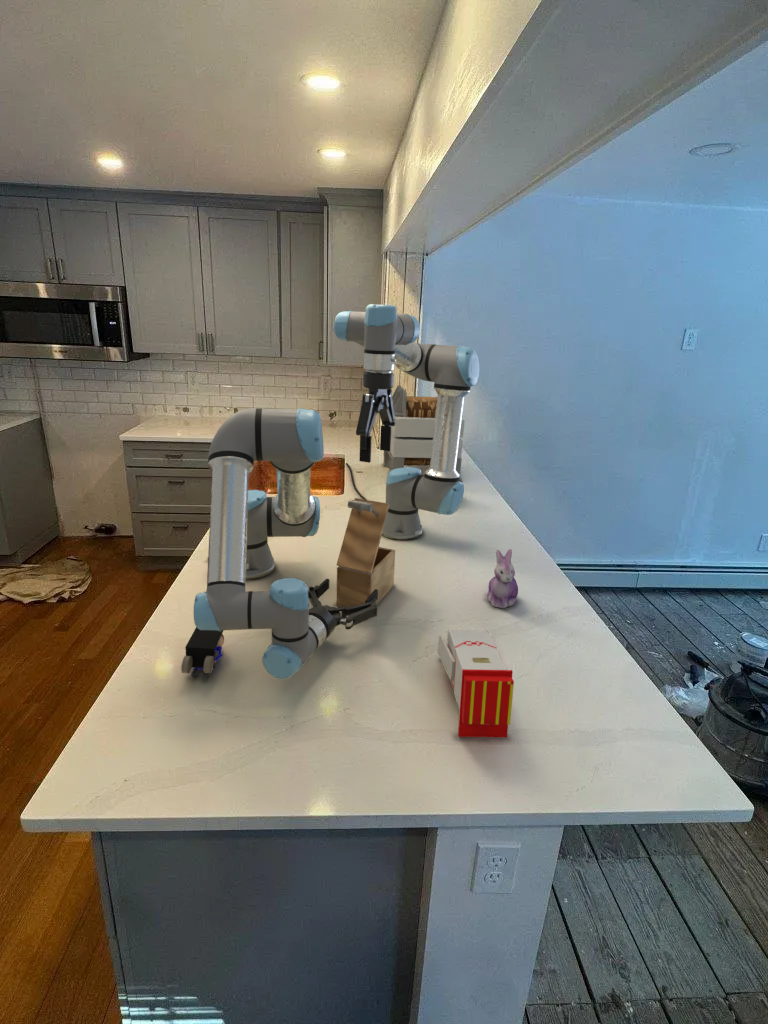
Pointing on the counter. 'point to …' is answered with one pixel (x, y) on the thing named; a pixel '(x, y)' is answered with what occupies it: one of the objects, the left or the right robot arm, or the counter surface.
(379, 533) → the lid
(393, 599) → the counter surface
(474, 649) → the toy
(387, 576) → the chest
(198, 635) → the figurine character
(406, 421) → the grey wooden crate
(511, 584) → the figurine
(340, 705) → the counter surface
